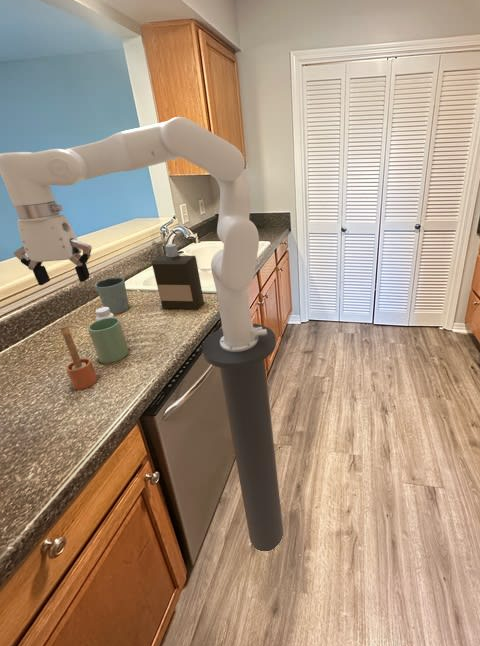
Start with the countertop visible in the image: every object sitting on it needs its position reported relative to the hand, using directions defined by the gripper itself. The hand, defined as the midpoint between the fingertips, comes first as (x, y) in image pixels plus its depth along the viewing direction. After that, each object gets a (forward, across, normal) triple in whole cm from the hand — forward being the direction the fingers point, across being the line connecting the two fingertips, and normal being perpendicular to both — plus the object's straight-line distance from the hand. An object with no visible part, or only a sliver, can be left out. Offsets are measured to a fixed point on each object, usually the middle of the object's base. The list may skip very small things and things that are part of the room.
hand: (65, 281), depth 80 cm
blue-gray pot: (+29, +14, -42) cm, 53 cm away
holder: (+28, +2, +3) cm, 29 cm away
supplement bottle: (+29, +8, -22) cm, 37 cm away
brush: (+28, +3, +3) cm, 28 cm away
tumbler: (+28, 0, -9) cm, 30 cm away
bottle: (+29, -12, -42) cm, 52 cm away
